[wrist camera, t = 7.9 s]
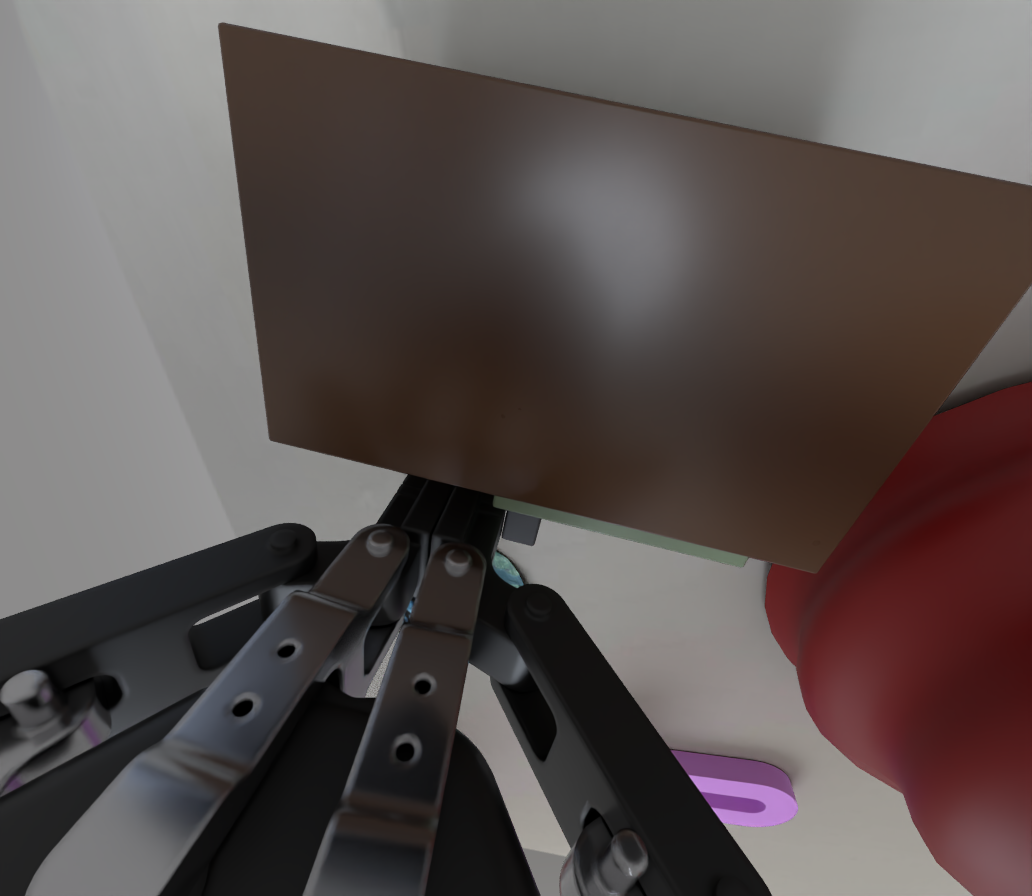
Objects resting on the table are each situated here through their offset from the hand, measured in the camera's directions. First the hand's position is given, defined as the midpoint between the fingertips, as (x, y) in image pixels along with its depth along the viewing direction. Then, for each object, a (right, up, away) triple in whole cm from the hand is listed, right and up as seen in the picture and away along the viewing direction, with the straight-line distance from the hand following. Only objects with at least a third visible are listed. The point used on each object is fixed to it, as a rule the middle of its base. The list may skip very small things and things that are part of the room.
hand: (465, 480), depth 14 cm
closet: (+4, +7, +3) cm, 9 cm away
